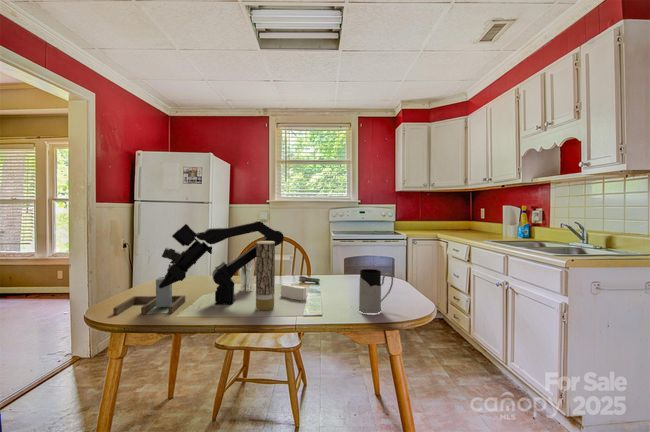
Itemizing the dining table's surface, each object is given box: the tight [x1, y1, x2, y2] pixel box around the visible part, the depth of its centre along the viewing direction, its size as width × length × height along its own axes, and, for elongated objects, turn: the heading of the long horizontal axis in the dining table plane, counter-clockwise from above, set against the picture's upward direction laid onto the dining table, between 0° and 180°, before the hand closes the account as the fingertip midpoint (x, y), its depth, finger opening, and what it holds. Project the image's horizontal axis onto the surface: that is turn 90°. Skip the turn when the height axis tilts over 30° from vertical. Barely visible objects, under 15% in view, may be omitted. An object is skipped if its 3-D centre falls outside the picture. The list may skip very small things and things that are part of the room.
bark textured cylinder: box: [255, 240, 276, 312], centre depth 122 cm, size 7×7×25 cm
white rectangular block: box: [280, 283, 307, 301], centre depth 139 cm, size 15×11×6 cm
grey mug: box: [358, 268, 394, 313], centre depth 121 cm, size 9×14×15 cm, turn 113°
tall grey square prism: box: [155, 276, 173, 307], centre depth 121 cm, size 4×4×10 cm
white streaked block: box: [238, 258, 256, 293], centre depth 149 cm, size 7×7×15 cm
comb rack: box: [113, 294, 186, 316], centre depth 121 cm, size 19×15×2 cm
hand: (160, 286), depth 121 cm, fingers closed on tall grey square prism, 5 cm apart
